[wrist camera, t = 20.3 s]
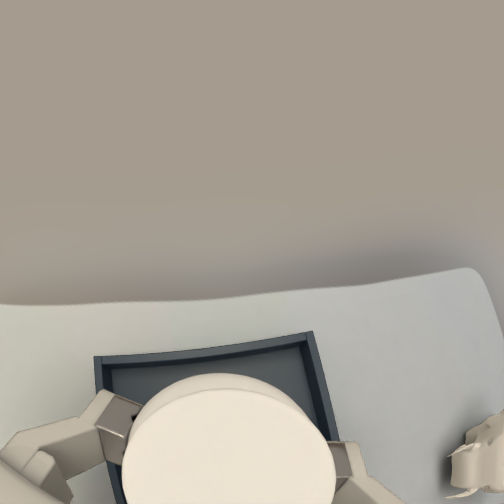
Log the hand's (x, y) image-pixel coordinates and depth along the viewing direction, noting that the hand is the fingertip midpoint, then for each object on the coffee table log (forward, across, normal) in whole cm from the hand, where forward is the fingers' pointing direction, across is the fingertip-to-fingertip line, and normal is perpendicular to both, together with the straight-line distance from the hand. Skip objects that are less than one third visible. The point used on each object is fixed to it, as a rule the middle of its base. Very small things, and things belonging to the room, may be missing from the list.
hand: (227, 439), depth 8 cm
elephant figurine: (+6, +24, -10) cm, 27 cm away
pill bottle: (+4, 0, -4) cm, 6 cm away
